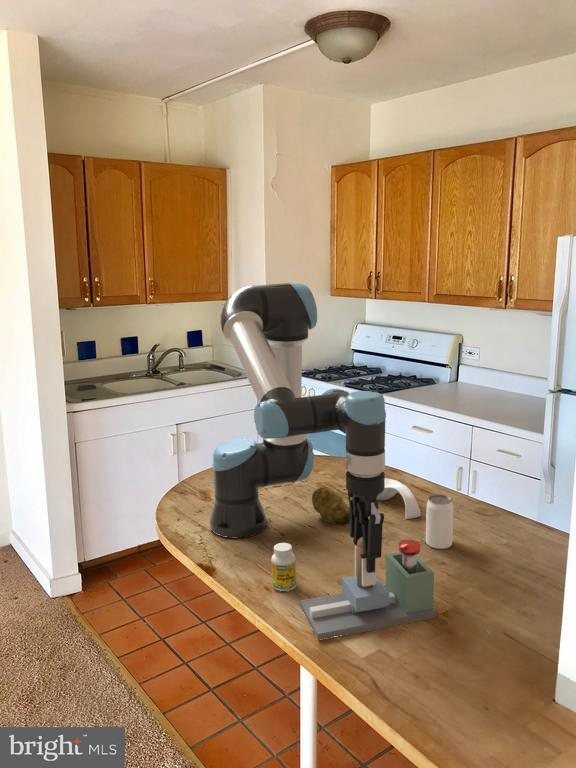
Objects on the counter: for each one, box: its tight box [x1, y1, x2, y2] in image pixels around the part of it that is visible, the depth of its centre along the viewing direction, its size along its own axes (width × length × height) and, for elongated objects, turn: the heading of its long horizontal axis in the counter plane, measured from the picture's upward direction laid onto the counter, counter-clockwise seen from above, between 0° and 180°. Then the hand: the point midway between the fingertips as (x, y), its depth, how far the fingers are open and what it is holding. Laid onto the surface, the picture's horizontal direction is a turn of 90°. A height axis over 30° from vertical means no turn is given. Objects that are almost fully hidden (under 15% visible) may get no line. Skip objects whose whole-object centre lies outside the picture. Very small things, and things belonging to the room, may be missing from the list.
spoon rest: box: [377, 477, 421, 520], centre depth 183 cm, size 24×12×7 cm, turn 24°
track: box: [299, 551, 436, 641], centre depth 129 cm, size 12×25×10 cm, turn 105°
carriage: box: [341, 537, 389, 613], centre depth 128 cm, size 8×7×15 cm
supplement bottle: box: [271, 542, 297, 592], centre depth 140 cm, size 5×5×10 cm
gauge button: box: [398, 539, 422, 574], centre depth 131 cm, size 4×4×9 cm
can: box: [425, 494, 454, 550], centre depth 157 cm, size 6×6×12 cm
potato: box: [311, 486, 350, 526], centre depth 173 cm, size 8×13×8 cm, turn 19°
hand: (365, 579), depth 129 cm, fingers closed on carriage, 3 cm apart
